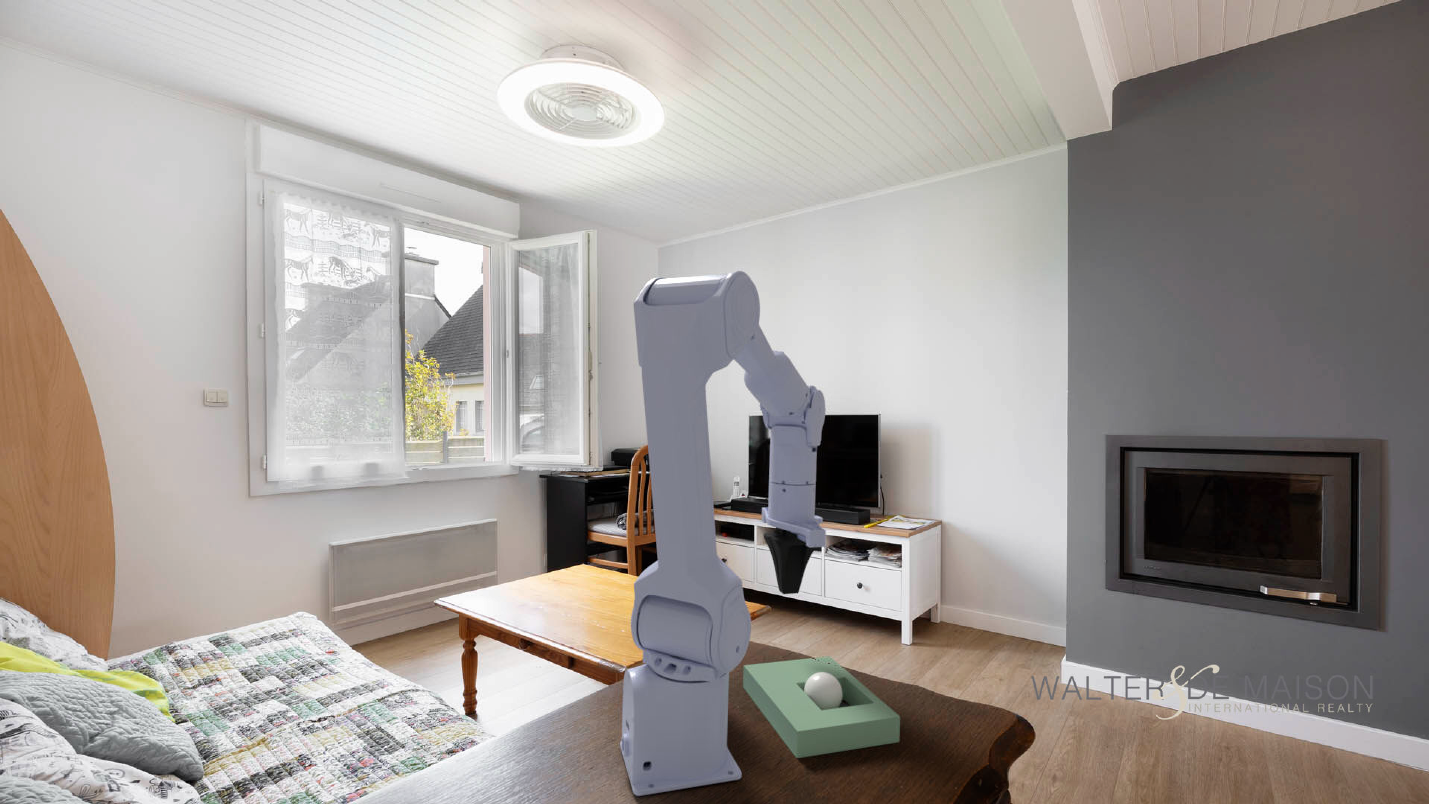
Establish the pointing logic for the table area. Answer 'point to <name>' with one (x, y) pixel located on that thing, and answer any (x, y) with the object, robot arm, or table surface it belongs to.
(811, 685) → the ball
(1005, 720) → the table surface
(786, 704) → the green
